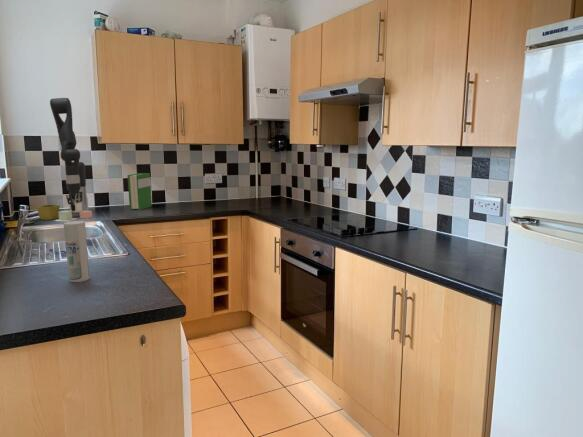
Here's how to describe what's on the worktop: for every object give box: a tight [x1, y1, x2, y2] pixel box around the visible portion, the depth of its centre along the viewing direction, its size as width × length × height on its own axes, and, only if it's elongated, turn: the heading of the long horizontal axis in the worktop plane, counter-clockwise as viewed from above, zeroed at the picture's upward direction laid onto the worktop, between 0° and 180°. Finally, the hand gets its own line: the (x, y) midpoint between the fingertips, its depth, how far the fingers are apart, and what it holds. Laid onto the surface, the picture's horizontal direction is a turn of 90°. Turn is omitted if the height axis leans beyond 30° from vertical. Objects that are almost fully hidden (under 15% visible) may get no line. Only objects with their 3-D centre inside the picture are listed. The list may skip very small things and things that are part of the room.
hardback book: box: [127, 172, 152, 211], centre depth 310 cm, size 18×7×24 cm, turn 171°
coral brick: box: [78, 210, 93, 219], centre depth 268 cm, size 5×5×5 cm
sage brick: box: [58, 210, 73, 220], centre depth 261 cm, size 5×5×5 cm
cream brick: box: [68, 202, 82, 213], centre depth 270 cm, size 5×5×5 cm
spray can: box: [63, 220, 90, 283], centre depth 150 cm, size 6×6×20 cm
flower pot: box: [36, 204, 60, 221], centre depth 263 cm, size 9×9×9 cm
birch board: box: [53, 217, 79, 222], centre depth 262 cm, size 10×10×1 cm
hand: (76, 209), depth 270 cm, fingers closed on cream brick, 5 cm apart
